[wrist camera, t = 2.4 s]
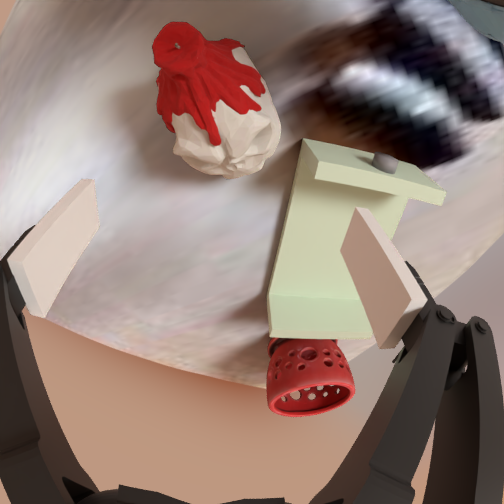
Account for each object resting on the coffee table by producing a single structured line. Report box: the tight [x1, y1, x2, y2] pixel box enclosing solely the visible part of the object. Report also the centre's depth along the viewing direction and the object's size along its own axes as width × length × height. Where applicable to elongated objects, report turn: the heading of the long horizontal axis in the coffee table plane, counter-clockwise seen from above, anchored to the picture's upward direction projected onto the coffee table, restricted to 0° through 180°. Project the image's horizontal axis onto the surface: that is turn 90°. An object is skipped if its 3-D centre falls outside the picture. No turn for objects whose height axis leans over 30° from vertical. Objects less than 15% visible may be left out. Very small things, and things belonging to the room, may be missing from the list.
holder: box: [266, 138, 447, 340], centre depth 33 cm, size 25×14×7 cm, turn 172°
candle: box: [152, 22, 281, 179], centre depth 21 cm, size 9×11×15 cm
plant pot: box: [267, 337, 355, 417], centre depth 43 cm, size 13×13×12 cm
